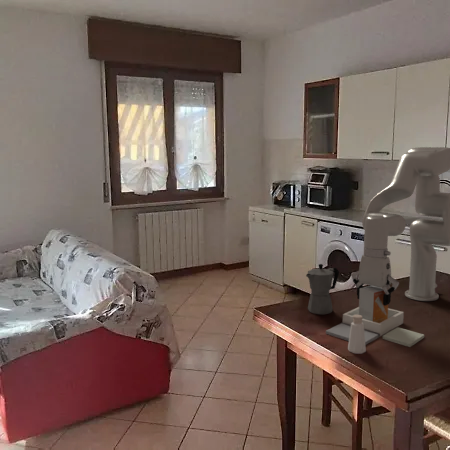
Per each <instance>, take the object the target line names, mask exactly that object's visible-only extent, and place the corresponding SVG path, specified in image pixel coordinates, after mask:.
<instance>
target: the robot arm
mask: <svg viewBox="0 0 450 450" xmlns="http://www.w3.org/2000/svg"><path fill="white" fill-rule="evenodd" d="M448 171H450V147H446V146H445V147H443V146H441V147H439V146H435V147H434V146H433V147H431V146H430V147H429V146H425V147H423V146H421V147H418V146H417V147H412V148H410V149H408V150H407V151H406V153H404V154H402V155H401V156H400V157H399V159H398V162H397V164H396V167H395V169H394V173H393V174H392V176H391V180H390V182H389V184H388V186H386V187H384V188H383V189H382V190H381V191H379V192H378V193H377V194H376V195H374V196H373V197H372V198H371V199H370V201H369V203H368V204H367V206H366V209H365V212H364V214H363V216H362V223H361V224H362V229H363V230H364V235H363V236H364V237H363V254H362V255H361V257H360V260H359V261H360V262H359V268H358V270H357V271H354V272H352V273H350V276H351V279H352V282H353V283H354V285H355V288H356V297H357V300H359V292H360V288H363V287H365V286H364V285H367V286H375V287H380V288H382V289H383V290H384V292H385V294H384V296H383V305H384V306H386V305H388V306H389V305H390V303H391V297H392V293H393V292H395V291H396V290H397V289H398V287H399V286H400V282H399V281H398V280H397V279H395V278H394V277H393V276H392V268H391V259H390V256H391V254H392V252H391V251H389V250H388V244H389V243H388V239H389V237H397V236H400V235H402V234H403V232H404V231H405V230H406V225H407V222H406V220H405V218H404V217H403V216H402V215H400V214H397V213H388V212H381V211H382V210H383V209H384V208H385V207H387V206H388V205H391V204H394V203H396V202H399V201H402V200H405V199H409V198H410V197H411V196H413V194H414V192H415V198H414V199H415V200H414V203H415V204H414V207H415V208H414V210H415V212H416V214H418V215H421V216H424V217H432V218H433V217H434V218H435V217H436V218H442V219H443V220H439V219H438V220H436V219H430V218H429V219H428V218H418V219H417V218H416V219H415V220H413V221H412V222H411V223H410V225H409V239H410V262H409V263H410V264H409V265H410V266H409V270H410V271H409V283H408V284H409V285H408V286H409V288H408V289H407V290H406V291H404V295H405V297H407V298H408V299H411V300H415V301H421V302H433V301H437V300H438V299H439V294H438V293H437V292H436V288H437V287H438V284H437V283H436V277H437V276H436V273H437V257H438V256H437V252H436V249H435V247H434V246H443V247H450V192H442V191H441V189H440V188H441V178H440V175H442V174H444V173H447V172H448ZM390 285H392V286H390Z"/></svg>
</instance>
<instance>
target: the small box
mask: <svg viewBox="0 0 450 450" xmlns="http://www.w3.org/2000/svg"><path fill="white" fill-rule="evenodd" d="M384 294H385V292H384V290H383V289H382V288H380V287H375V286H371V285H367V286H364V287H363V288H360V292H359V299H358V307H359V315H361V316H362V317H363V318H362V319H366V320H369V321H373V322H376V323H381V322H382V321H384V320H386V319H388V308H389V304H388V305H386V306H384V305H383V296H384Z"/></svg>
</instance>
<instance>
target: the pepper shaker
mask: <svg viewBox="0 0 450 450" xmlns="http://www.w3.org/2000/svg"><path fill="white" fill-rule="evenodd" d="M362 318H363V317H362V316H361V315H353V323H351V328H350V336H349V341H348V345H347V350H348V351H349V352H350V353H353V354H355V355H356V354H358V355H359V354H360V355H362V354H364V353H366V352H367V349H366V348H367V347H366V345H365V334H364V325H363V323H362Z"/></svg>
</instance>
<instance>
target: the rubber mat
mask: <svg viewBox="0 0 450 450" xmlns="http://www.w3.org/2000/svg"><path fill="white" fill-rule="evenodd" d="M424 338H425V334H423V333H419V332H417V331H413V330H409V329H405V328H402V327H399V326H397V327H396V328H394V329H392V330H391V331H389V332H387V333H385V334H384V335H382V340H385V341H389V342H392V343H395V344H398V345H401V346H405V347H408V348H412V347H413V346H414V345H415V344H417V343H419V342H420V341H421V340H423V339H424Z"/></svg>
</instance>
